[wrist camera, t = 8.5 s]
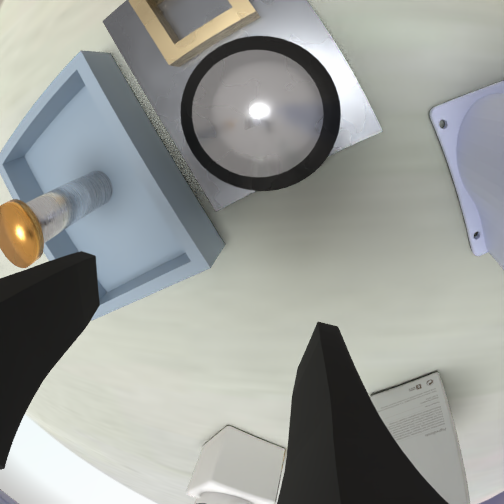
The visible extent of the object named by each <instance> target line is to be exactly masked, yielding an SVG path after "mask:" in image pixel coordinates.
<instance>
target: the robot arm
mask: <svg viewBox="0 0 504 504" xmlns="http://www.w3.org/2000/svg"><path fill="white" fill-rule="evenodd" d="M430 119H431V121H432V124H433V126H434V128H435V131H436V133H437V136H438V139H439V141H440V144H441V146H442V149H443V152H444V155H445V158H446V160H447V163H448V166H449V169H450V172H451V175H452V178H453V181H454V185H455V188H456V191H457V195H458V198H459V202H460V205H461V209H462V212H463V216H464V220H465V224H466V228H467V232H468V237H469V241H470V246H471V250H472V252H473V253H474V255H476V256H481V255H483V254H485V253H487V252H489V253H490V254H491V255H492V257H493V258H494V259H495V260H496V261H497V262H498V264H499V265H500V266H501V267H502V268H503V270H504V80H503V81H501V82H498V83H495V84H492V85H490V86H487V87H484V88H481V89H479V90H476V91H473V92H471V93H468V94H465V95H463V96H460V97H458V98H455V99H453V100H450V101H447V102H445V103H442V104H440V105H437V106H435V107H433V108H432V109H431V110H430ZM441 120H444V122H445V126H444V128H440V126H439V122H440V121H441ZM475 232H478V234H477V236H476V237H474V233H475ZM99 306H100V301H99V291H98V280H97V267H96V256H95V255H92V254H89V253H86V252H83V251H80V252H76V253H72V254H69V255H66V256H63V257H60V258H57V259H54V260H52V261H49V262H46V263H43V264H41V265H38V266H35V267H32V268H30V269H27V270H24V271H21V272H18V273H15V274H12V275H9V276H6V277H4V278H1V279H0V469H4V468H5V464H6V460H7V457H8V454H9V451H10V448H11V445H12V442H13V439H14V437H15V434H16V432H17V430H18V427H19V425H20V423H21V420H22V418H23V416H24V414H25V412H26V410H27V408H28V406H29V404H30V403H31V401H32V399H33V397H34V395H35V394H36V392H37V390H38V389H39V387H40V385H41V383H42V382H43V380H44V379H45V377H46V376H47V375H48V373H49V372H50V371H51V369H52V368H53V367H54V366H55V364H56V363H57V362H58V361H59V359H60V358H61V357H62V356H63V355H64V353H65V352H66V351H67V350H68V349H69V347H70V346H71V345H72V344H73V342H74V341H75V340H76V339H77V338H78V336H79V335H80V334H81V333H82V332H83V330H84V329H85V328H86V326H87V325H88V323H89V322H90V320H91V319H92V317H93V316H94V314H95V312H96V311H97V309H98V307H99ZM0 504H18V503H17V502H16V501H15V500H13V499H12V498H10V497H9V496H8V495H7V494H6V493H4V492H3V491H2V490H1V489H0ZM277 504H449V503H448V502H447V501H445V500H444V499H443V498H442V497H441V496H440V494H439V493H438V492H437V491H436V490H435V489H434V488H433V487H432V486H431V485H430V484H429V483H428V482H427V481H426V479H425V478H424V477H423V476H422V475H421V474H420V473H419V471H418V470H417V469H416V468H415V466H414V465H413V464H412V462H411V461H410V460H409V459H408V457H407V456H406V455H405V453H404V452H403V451H402V449H401V448H400V447H399V445H398V444H397V442H396V441H395V439H394V438H393V436H392V435H391V433H390V432H389V430H388V429H387V427H386V425H385V424H384V422H383V421H382V419H381V417H380V416H379V414H378V412H377V410H376V408H375V406H374V405H373V403H372V401H371V399H370V397H369V395H368V393H367V391H366V389H365V387H364V385H363V383H362V381H361V379H360V376H359V374H358V372H357V370H356V368H355V366H354V363H353V361H352V359H351V356H350V354H349V352H348V349H347V347H346V345H345V342H344V340H343V337H342V335H341V333H340V330H339V328H338V327H337V326H333V325H329V324H325V323H321V322H317V325H316V327H315V330H314V332H313V334H312V337H311V339H310V341H309V344H308V346H307V348H306V351H305V353H304V355H303V357H302V360H301V362H300V364H299V366H298V370H297V375H296V380H295V385H294V390H293V395H292V404H291V416H290V428H289V439H288V450H287V460H286V466H285V473H284V477H283V481H282V486H281V490H280V494H279V498H278V502H277Z"/></svg>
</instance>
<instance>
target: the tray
mask: <svg viewBox="0 0 504 504" xmlns="http://www.w3.org/2000/svg"><path fill="white" fill-rule="evenodd" d="M93 171H101V172H103V173H104V174H106V175H107V176H108V178H109V179H110V181H111V184H112V188H113V193H112V197H111V199H110V201H109V202H108V203H106V204H105V205H103V206H101V207H100V208H98V209H96V210H95V211H93V212H92V213H90V214H88V215H87V216H85V217H84V218H82V219H80V220H79V221H77V222H76V223H74V224H73V225H71V226H69V227H68V228H66V229H65V230H63V231H62V232H60V233H59V234H57V235H56V236H54V237H53V238H51V239H50V240H48V241H47V242H45V243H44V249H43V252H44V253H45V255H46V257H47V258H48V260H49V261H52V260H54V259H57V258H60V257H63V256H66V255H69V254H72V253H76V252H80V251H83V252H86V253H89V254H92V255H95V256H96V267H97V280H98V291H99V301H100V306H99V307H98V309H97V311H96V312H95V314H94V316H93V317H92V319H91V320H94V319H96V318H99V317H101V316H103V315H105V314H108V313H110V312H112V311H114V310H117V309H119V308H121V307H123V306H126V305H128V304H130V303H133V302H135V301H137V300H139V299H142V298H144V297H146V296H148V295H151V294H153V293H155V292H157V291H160V290H162V289H164V288H166V287H169V286H171V285H173V284H175V283H178V282H180V281H182V280H184V279H187V278H189V277H191V276H194V275H196V274H198V273H200V272H203V271H205V270H207V269H209V268H211V266H212V265H213V263H214V262H215V260H216V258H217V257H218V255H219V254H220V252H221V251H222V249H223V247H224V246H225V244H224V242H223V241H222V239H221V237H220V236H219V234H218V232H217V231H216V229H215V228H214V226H213V224H212V223H211V221H210V220H209V218H208V216H207V215H206V213H205V211H204V210H203V208H202V206H201V205H200V203H199V202H198V200H197V198H196V197H195V195H194V193H193V192H192V190H191V188H190V187H189V185H188V184H187V182H186V180H185V179H184V177H183V175H182V174H181V172H180V170H179V169H178V167H177V165H176V164H175V162H174V160H173V159H172V157H171V155H170V154H169V152H168V150H167V149H166V147H165V145H164V144H163V142H162V140H161V139H160V137H159V135H158V134H157V132H156V130H155V129H154V127H153V125H152V124H151V122H150V120H149V119H148V117H147V115H146V114H145V112H144V110H143V108H142V107H141V105H140V103H139V102H138V100H137V98H136V97H135V95H134V93H133V91H132V90H131V88H130V86H129V85H128V83H127V81H126V79H125V78H124V76H123V74H122V73H121V71H120V69H119V67H118V66H117V64H116V62H115V60H114V59H113V57H112V55H111V54H110V53H102V52H92V51H80V52H79V53H78V54H77V55H76V56H75V57H74V58H73V59H72V60H71V61H70V62H69V64H68V65H67V66H66V67H65V68H64V69H63V70H62V71H61V72H60V73H59V75H58V76H57V77H56V78H55V79H54V80H53V82H52V83H51V84H50V85H49V86H48V87H47V89H46V90H45V91H44V92H43V94H42V95H41V96H40V97H39V99H38V100H37V101H36V102H35V104H34V105H33V106H32V108H31V109H30V110H29V112H28V113H27V114H26V116H25V117H24V118H23V120H22V121H21V123H20V124H19V125H18V127H17V128H16V130H15V131H14V133H13V134H12V135H11V137H10V138H9V140H8V141H7V143H6V145H5V146H4V148H3V149H2V151H1V152H0V174H1V176H2V178H3V180H4V182H5V184H6V186H7V188H8V190H9V192H10V194H11V196H12V198H13V199H18V200H21V201H23V202H25V203H27V202H29V201H31V200H33V199H35V198H37V197H39V196H41V195H43V194H45V193H47V192H49V191H51V190H53V189H55V188H57V187H59V186H62V185H64V184H66V183H68V182H70V181H72V180H75V179H77V178H79V177H81V176H84V175H86V174H88V173H90V172H93Z"/></svg>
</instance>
